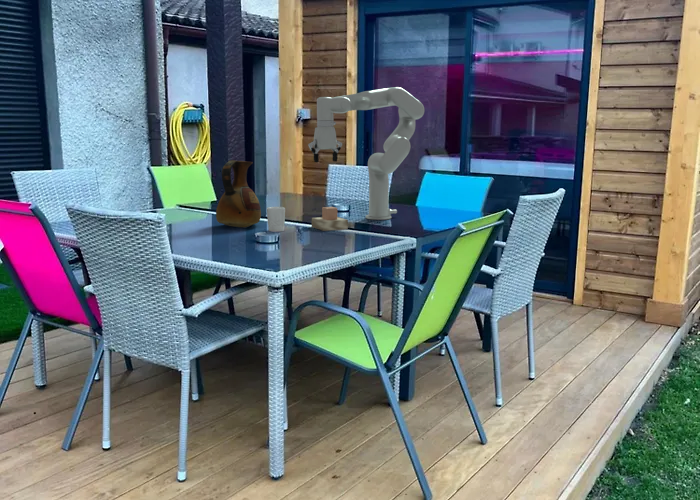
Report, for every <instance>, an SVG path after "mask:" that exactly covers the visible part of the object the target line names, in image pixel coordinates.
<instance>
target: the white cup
mask: <svg viewBox="0 0 700 500" xmlns="http://www.w3.org/2000/svg"><path fill="white" fill-rule="evenodd" d="M266 214H267V215H266V216H267V218H266V219H267V225H268V226H267V229H268V232H273V233H275V232H276V233H278V232H284V231H285V222H286V221H285V220H286V207H283V206H269V207H267V208H266Z"/></svg>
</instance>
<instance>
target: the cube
mask: <svg viewBox="0 0 700 500" xmlns="http://www.w3.org/2000/svg"><path fill="white" fill-rule="evenodd" d="M321 214H322V216H321V217H322V219H326V220H334V219H337V217H338V208H337V207H334V206H326V207H323V206H322V209H321Z"/></svg>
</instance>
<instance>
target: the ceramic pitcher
mask: <svg viewBox="0 0 700 500" xmlns="http://www.w3.org/2000/svg"><path fill="white" fill-rule="evenodd" d="M252 164H253V161H247V160H246V161H245V160H244V161H243V160H234V159H231V160H228V162H226V163H225V164H224V165H223V167H222V169H221V181H222V185H223V188H224V192H223V193H222V195H221V196H220V199H219V200H218V203H217V206H216V208H215V209H216V210H215V218H216V221H217V223H219V224H222V225H224V226H229V227H236V228H248V227H250V226H252V225H255V224H258V223H259V222H260V221H261V217H262V211H261V210H262V209H261V204H260V200H259V198H258V197H257V195H256V193H255V191H253V189H252V188H250V187H249V185H248V182H247V181H248V180H247V176H248V175H247V174H248V169H249V167H250V166H251V165H252ZM232 170H233V181H232V175H231V174H232V173H231V172H232Z"/></svg>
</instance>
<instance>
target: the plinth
mask: <svg viewBox="0 0 700 500" xmlns="http://www.w3.org/2000/svg"><path fill="white" fill-rule="evenodd" d="M311 228H314V229H317V230H320V231H322V232H323V231H324V232H325V231H326V232H327V231H338V230H347V229H348V228H349V220H348V219H347V218H343V217H339V216H337V219H334V220H326V219H322V216H321V217H320V216H319V217H311ZM348 230H349V229H348Z"/></svg>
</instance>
